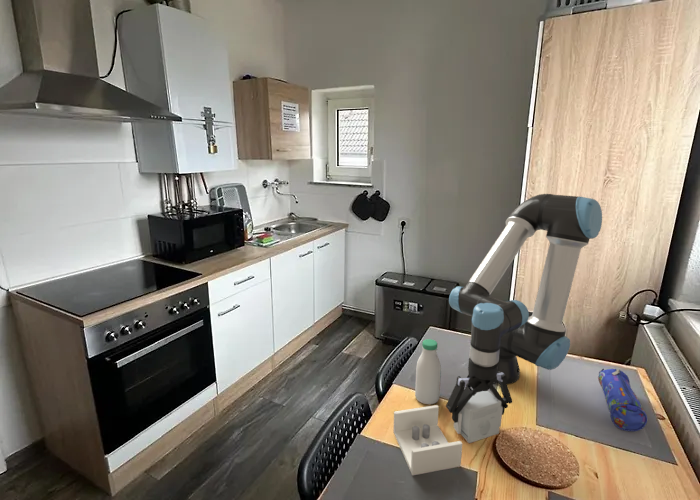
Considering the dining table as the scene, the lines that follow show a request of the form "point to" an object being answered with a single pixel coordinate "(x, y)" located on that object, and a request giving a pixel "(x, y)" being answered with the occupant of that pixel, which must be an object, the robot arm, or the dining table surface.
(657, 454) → the dining table surface
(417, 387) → the milk bottle
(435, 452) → the peg frame
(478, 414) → the skincare box
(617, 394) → the pencil case
